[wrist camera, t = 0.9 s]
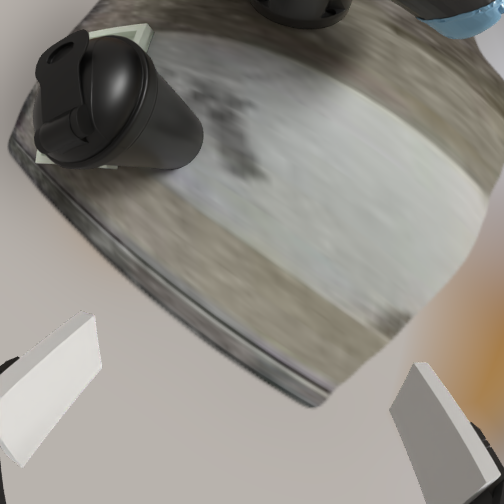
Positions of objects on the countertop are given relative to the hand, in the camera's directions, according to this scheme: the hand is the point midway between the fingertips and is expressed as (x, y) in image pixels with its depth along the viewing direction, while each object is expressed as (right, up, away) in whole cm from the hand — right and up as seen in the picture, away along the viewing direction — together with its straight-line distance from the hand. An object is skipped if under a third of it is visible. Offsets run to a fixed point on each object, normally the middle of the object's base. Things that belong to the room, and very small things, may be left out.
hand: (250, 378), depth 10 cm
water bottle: (-10, +20, +24) cm, 32 cm away
